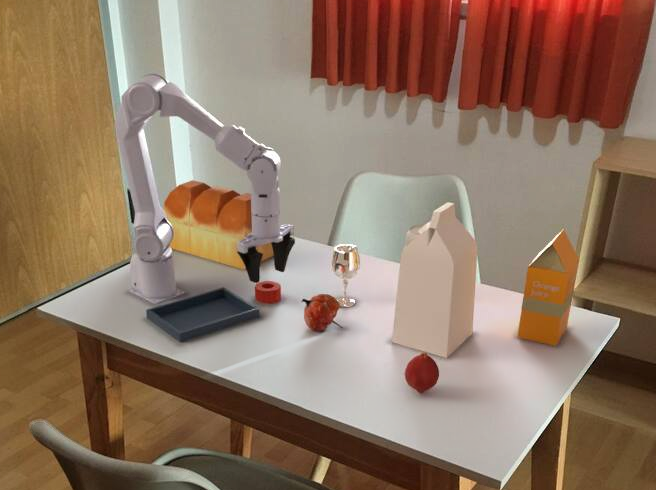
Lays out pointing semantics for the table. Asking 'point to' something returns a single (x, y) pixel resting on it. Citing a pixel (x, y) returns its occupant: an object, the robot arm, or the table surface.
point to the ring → (267, 292)
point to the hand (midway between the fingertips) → (267, 276)
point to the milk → (436, 286)
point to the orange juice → (549, 292)
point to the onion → (422, 373)
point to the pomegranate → (320, 311)
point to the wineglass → (345, 268)
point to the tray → (202, 314)
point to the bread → (211, 222)
